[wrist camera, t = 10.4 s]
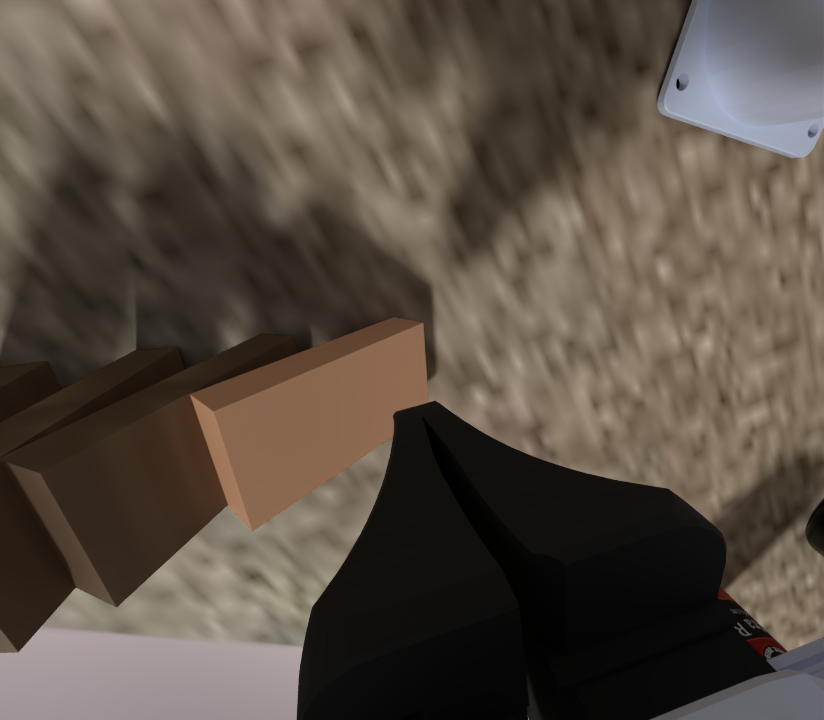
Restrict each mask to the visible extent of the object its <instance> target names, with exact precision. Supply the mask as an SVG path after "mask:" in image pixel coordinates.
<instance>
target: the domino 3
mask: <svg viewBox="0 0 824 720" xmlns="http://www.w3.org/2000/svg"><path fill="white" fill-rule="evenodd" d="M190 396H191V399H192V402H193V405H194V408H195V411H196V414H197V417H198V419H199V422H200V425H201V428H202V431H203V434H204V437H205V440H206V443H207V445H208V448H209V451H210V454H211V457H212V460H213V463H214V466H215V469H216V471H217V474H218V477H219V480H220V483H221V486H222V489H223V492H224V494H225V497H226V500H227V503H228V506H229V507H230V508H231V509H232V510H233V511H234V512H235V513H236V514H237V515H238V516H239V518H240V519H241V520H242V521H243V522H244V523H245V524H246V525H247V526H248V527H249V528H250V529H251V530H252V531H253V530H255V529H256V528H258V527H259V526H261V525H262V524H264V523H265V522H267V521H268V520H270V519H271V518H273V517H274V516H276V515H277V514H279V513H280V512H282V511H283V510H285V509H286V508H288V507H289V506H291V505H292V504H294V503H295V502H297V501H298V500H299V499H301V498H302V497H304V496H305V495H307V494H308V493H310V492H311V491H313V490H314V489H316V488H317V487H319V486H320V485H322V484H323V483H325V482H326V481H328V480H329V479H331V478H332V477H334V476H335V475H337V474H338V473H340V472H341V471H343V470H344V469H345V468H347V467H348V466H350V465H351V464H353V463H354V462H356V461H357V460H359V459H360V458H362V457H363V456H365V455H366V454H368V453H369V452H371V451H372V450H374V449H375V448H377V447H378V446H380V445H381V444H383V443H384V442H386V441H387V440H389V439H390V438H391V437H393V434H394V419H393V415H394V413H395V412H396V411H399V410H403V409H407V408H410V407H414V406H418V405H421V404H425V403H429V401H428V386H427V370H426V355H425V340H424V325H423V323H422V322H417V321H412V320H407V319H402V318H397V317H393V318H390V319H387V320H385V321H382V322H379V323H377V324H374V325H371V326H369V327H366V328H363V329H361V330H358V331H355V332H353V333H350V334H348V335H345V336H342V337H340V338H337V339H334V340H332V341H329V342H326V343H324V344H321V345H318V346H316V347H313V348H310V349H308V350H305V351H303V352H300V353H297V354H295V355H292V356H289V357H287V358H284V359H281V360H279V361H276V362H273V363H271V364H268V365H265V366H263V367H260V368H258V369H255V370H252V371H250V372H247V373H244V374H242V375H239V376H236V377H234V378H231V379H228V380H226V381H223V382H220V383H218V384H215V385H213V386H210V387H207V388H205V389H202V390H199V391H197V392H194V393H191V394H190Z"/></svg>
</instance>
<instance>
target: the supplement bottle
mask: <svg viewBox="0 0 824 720" xmlns="http://www.w3.org/2000/svg"><path fill="white" fill-rule="evenodd" d="M806 537H807V540H808V543H809V544H810V546H811V547H812V548H813V549H814V550H815V551H817V552H818V553H819V554H821V555H822V556H823V557H824V503H823V504H822V505H821V506H820V507H819V508H818V509H817V510H816V511H815V513H814V514H813V516H812V517H811V519H810V521H809V523H808V526H807V529H806Z"/></svg>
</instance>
